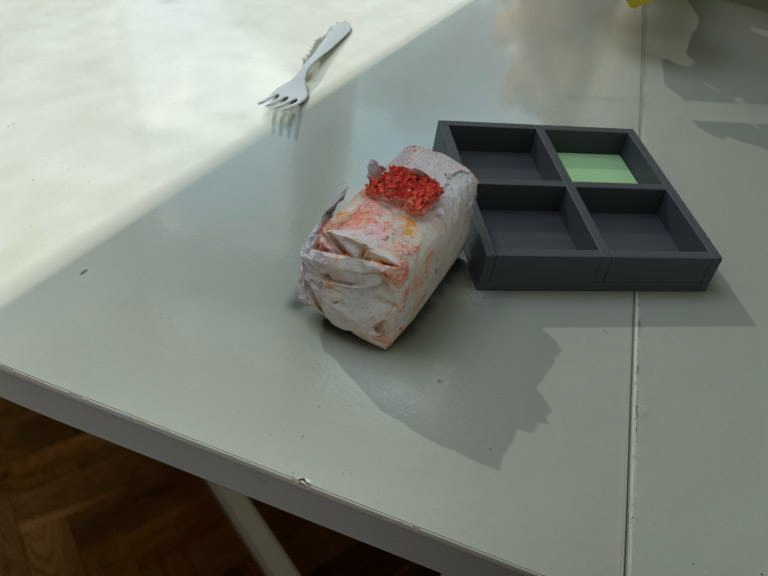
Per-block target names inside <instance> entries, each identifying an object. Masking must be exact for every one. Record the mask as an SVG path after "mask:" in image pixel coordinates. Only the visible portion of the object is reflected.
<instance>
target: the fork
mask: <svg viewBox="0 0 768 576" xmlns="http://www.w3.org/2000/svg"><path fill="white" fill-rule="evenodd" d="M351 30H352V26H351V24H350V23H347V22H339V23H336V24H334V25H333V26H332V27H331V29H330V30H329V31H328V33H327V34H326V36H325V37H324V39H323V40H322V42H320V44H319V45H318V47H317V48H316V50H315V51H314V52H313V53H312V55H311V56H310V57H309V58H308V59H307V60H306V61H305V62H304V63H303V65H302V66H301V67H300V69H299V70H298V72H297V73H296V75H294V77H292V78H291V79H290V80H289V81H287V82H285V83H283V84H282V85H280V86H278V87H277V88H276V89H274V90H273V91H272V92H271V93H270V94H269V96H267V97H266V98H264V99H262V100H260V101H258V102H257V106H260V105H264V104H265V105H264V108H269V107H271V106H273V105H274V106H273V107H272V110H277V109H280V110H279V111H280V112H285V111H288V110H290V109H293V108H295V107H297V106H299V105H300V104H302V103H303V102H305V101H306V100H307V98H308V96H309V91H308V88H307V85H306V75H307V73H308V71H309V69H310V67H312V65H313V64H314V63H316V62H317V61H318V60H319V59H321V58H322V57H323V56H324V55H326V54H327V53H329V52H330V51H331V50H332V49H334V48H335V46H337V44H339V43H340V42H341V41H342V40H343V39H345V37H347V35H348V34H350V33H351ZM277 96H278V97H277ZM275 97H277V98H276V99H274V98H275ZM272 99H273V100H272ZM284 99H286V100H285V101H283V100H284ZM270 100H272V101H270ZM269 101H270V102H269ZM281 101H283V102H281ZM294 101H295V102H294ZM267 102H268V103H267ZM279 102H281V103H279ZM292 102H294V103H292ZM277 103H279V104H277ZM290 103H291V104H290ZM275 104H277V105H275ZM288 104H290V105H288ZM286 105H288V106H286ZM284 106H285V107H284ZM282 107H283V108H282Z"/></svg>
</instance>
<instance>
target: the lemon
mask: <svg viewBox="0 0 768 576" xmlns="http://www.w3.org/2000/svg"><path fill="white" fill-rule="evenodd" d="M625 1H626V3H627V5H628V7H629V8H630V9H634V10H635V9H637V8H638V7H641V5H648V4H650V3H652V2H654V1H655V0H625Z"/></svg>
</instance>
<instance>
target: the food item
mask: <svg viewBox="0 0 768 576" xmlns="http://www.w3.org/2000/svg"><path fill="white" fill-rule="evenodd" d="M366 167H367V174H366V175H365V177H366V178H367V180H368V183H367V182H366V183H365V184H364V186H363V188H361V190H360V191H359V192H357V193H356V194H355V195H354V196H353V197H352V199H351V200H350V201H349V202H348V203H347V204H346V205H345V206H343V207H342V208H341V209H340V210H339V211H337V212H336V213H335V211H336V210H337V207H338V205H339V204H340V203H341V202H343V201H344V200H345V197H346V194H347V191H348V190H349V188H350V186H348V187H346V188H344V190H342V191H341V193H340V194H338V195H337V196H336V197H335V198H334V199H333V200H332V201H331V202H330V203H329V204H328V205H327V206H326V207H325V208H324V210H323V213H322V215H321V217H320V219H319V221H318V223H316V225H315V226H314V228H313V229H312V230H311V232H310V233H309V235H308V237H307V239H306V242H305V244H304V243H302V246H301V248H300V252H299V256H300V260H301V265H300V268H299V271H298V282H299V286H298V291H297V297H298V300H299V302H300V303H302V304H303V305H304V307H307V306H310V307H312V308H313V309H314V310H315V312H318V313H319V314H320V315H322V316H324V317H325V318H326V319H327V320H328V321H329V322H330V323H331V324H332V325H333V326H335V327H337V328H338V329H341V330H343V331H349V332H351V333H352V334H353V335H355V336H357V337H359V339H361V340H363V341H365V342H368V343H369V344H371V345H374V346H376V347H378V348H380V349H383V350H387V349H388V348H389V347H391V346H392V345H393V344H394V342H395V341H396V340H397V338H398V337H399V336H401V335H402V333H403V332H404V331H405V330H406V329H407V327H409V325H410V324H411V323H412V322H413V321H414V319H415V318H416V317H417V315H418V314H419V312H420V311H421V310H422V309H423V307H424V306H425V304H426V303H427V302H428V301H429V299H430V297H431V296H432V294H433V293H434V292H435V290H436V289H437V288H438V286H439V285H440V283H441V282H442V281H443V279H444V278H445V277H446V275H447V273H448V272H449V270H450V269H451V268H452V267H453V266H454V264H455V262H456V261H457V259H459V256H460V255H461V253H462V251H464V249H463V248H464V246H465V244H466V241H467V238H468V234H469V227H470V221H471V216H472V215H473V208H474V205H475V199H476V196H477V184H478V183H479V181H478V179H476V178H475V175H474V174H473V173H472V172H471V171H470V170H469V169H468V168H467V167H465V166H463V165H461V164H460V163H458V162H456V161H455V160H453V159H452V158H450V157H448V156H447V155H445V154H443V153H440V152H435V151H432V149H429V148H425V147H422V146H419V145H416V144H414V145H413V144H411V145H408V146H405V147H404V148H403V150H402V151H401V152H400V153H399V154H398V155H397V156H396V157H395V158H393V159H392V160H391V161H390V162H389V163H388V164H387V165H386V166H385V167H384V166H383V165H379V163H378V161H377V160H374V159H372V158H371V159H370V160H369V162H368V165H367V166H366ZM334 213H335V214H334Z"/></svg>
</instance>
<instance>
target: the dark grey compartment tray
mask: <svg viewBox="0 0 768 576" xmlns="http://www.w3.org/2000/svg"><path fill="white" fill-rule="evenodd" d="M431 151H435V152H440V153H443V154H445V155H447V156H448V157H450V158H452V159H453V160H455V161H456V162H458V163H460V164H461V165H463V166H465V167H467V168H468V169H469V170H470V171H471V172H472V173H473V174H474V175H475V178H476V179H478V181H479V183H478V184H477V196H476V199H475V205H474V208H473V215H472V216H471V221H470V227H469V234H468V238H467V241H466V244H465V246H464V248H463V252H464V255H465V258H466V261H467V264H468V266H469V270H470V274H471V277H472V280H473V283H474V286H475V289H476V290H477V291H622V292H623V291H628V292H629V291H631V292H633V291H635V292H637V291H639V292H640V291H643V292H645V291H646V292H647V291H654V292H655V291H658V292H661V291H662V292H663V291H665V292H666V291H667V292H674V291H675V292H683V291H684V292H706V291H707V289H708V287H709V285H710V283H711V281H712V279H713V278H714V276H715V274H716V273H717V270H718V269H719V267H720V264H721V263H722V261H723V256H722V255H721V254H720V252H719V251H718V249H717V248H716V247H715V245H714V243H713V242H712V240H711V239H710V238H709V236H708V235H707V233H706V232H705V231H704V229H703V228H702V226H701V225H700V224H699V222H698V220H697V219H696V217H695V215H693V213H692V211H690V209H689V208H688V206H687V205H686V203H685V201H684V200H683V199H682V197H681V196H680V195H679V193H678V191H676V189H675V187H674V186H673V184H672V183H671V181H670V180H669V178H668V177H667V176H666V174H665V173H664V171H663V170H662V168H661V167H660V166H659V164H658V163H657V161H656V159H654V157H653V156H652V154H651V153H650V151H649V150H648V148H647V147H646V145H645V144H644V143H643V141H642V139H641V138H640V137H639V135H638V133H636V131H635V130H634V128H619V127H600V126H599V127H597V126H574V125H557V124H556V125H552V124H532V123H514V122H513V123H511V122H510V123H509V122H508V123H507V122H492V121H491V122H487V121H469V120H468V121H464V120H446V119H445V120H444V119H442V120H441V119H438V120H437V125H436V130H435V135H434V141H433V145H432V149H431Z"/></svg>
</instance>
